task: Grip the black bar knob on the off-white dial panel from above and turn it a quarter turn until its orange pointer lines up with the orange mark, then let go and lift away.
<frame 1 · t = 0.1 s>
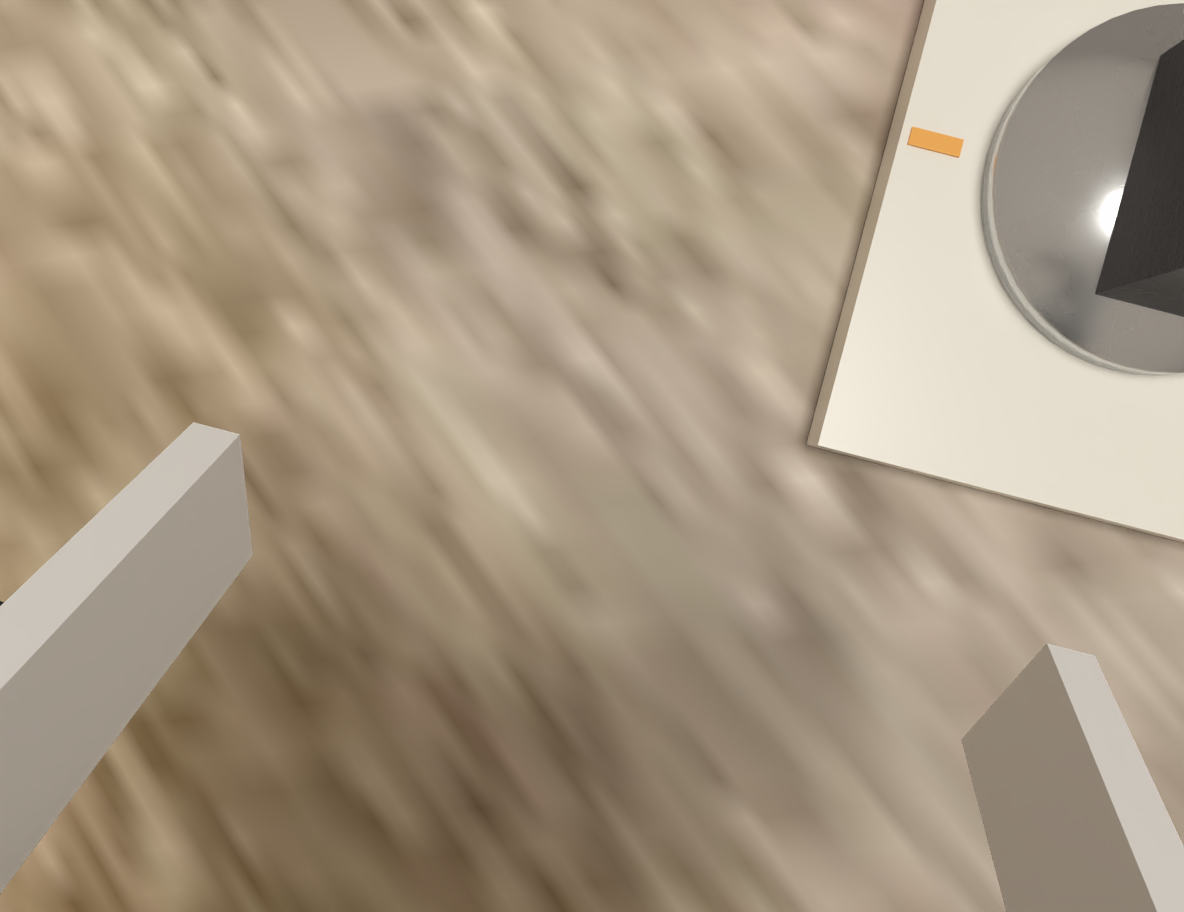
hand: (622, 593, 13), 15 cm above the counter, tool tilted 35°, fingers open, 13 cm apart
dial panel: (1126, 212, 27), on the counter
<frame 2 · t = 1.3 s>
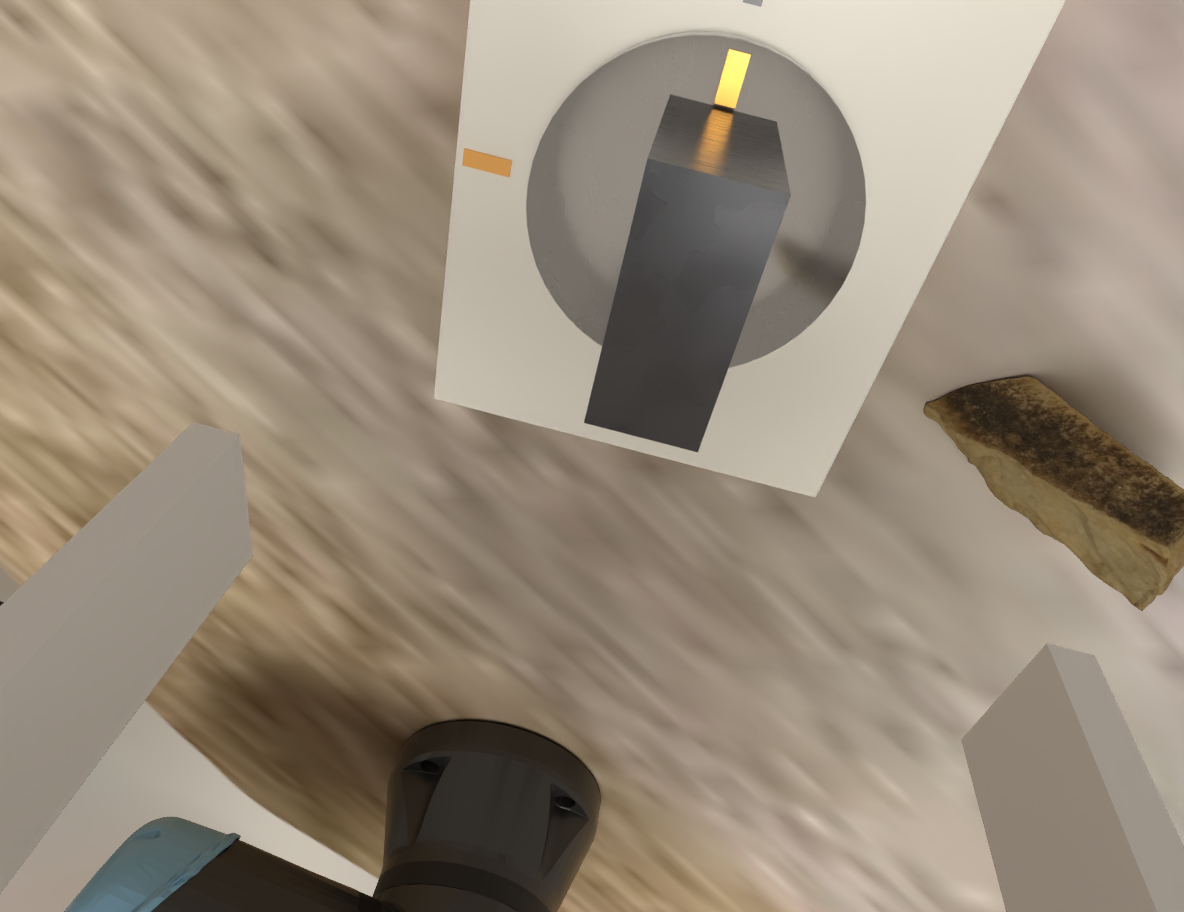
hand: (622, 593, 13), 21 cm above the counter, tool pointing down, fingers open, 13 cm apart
dial: (684, 261, 24), point 6 cm above the counter, hinge at 0.0°
dial panel: (693, 202, 29), on the counter
rock: (1042, 455, 34), on the counter
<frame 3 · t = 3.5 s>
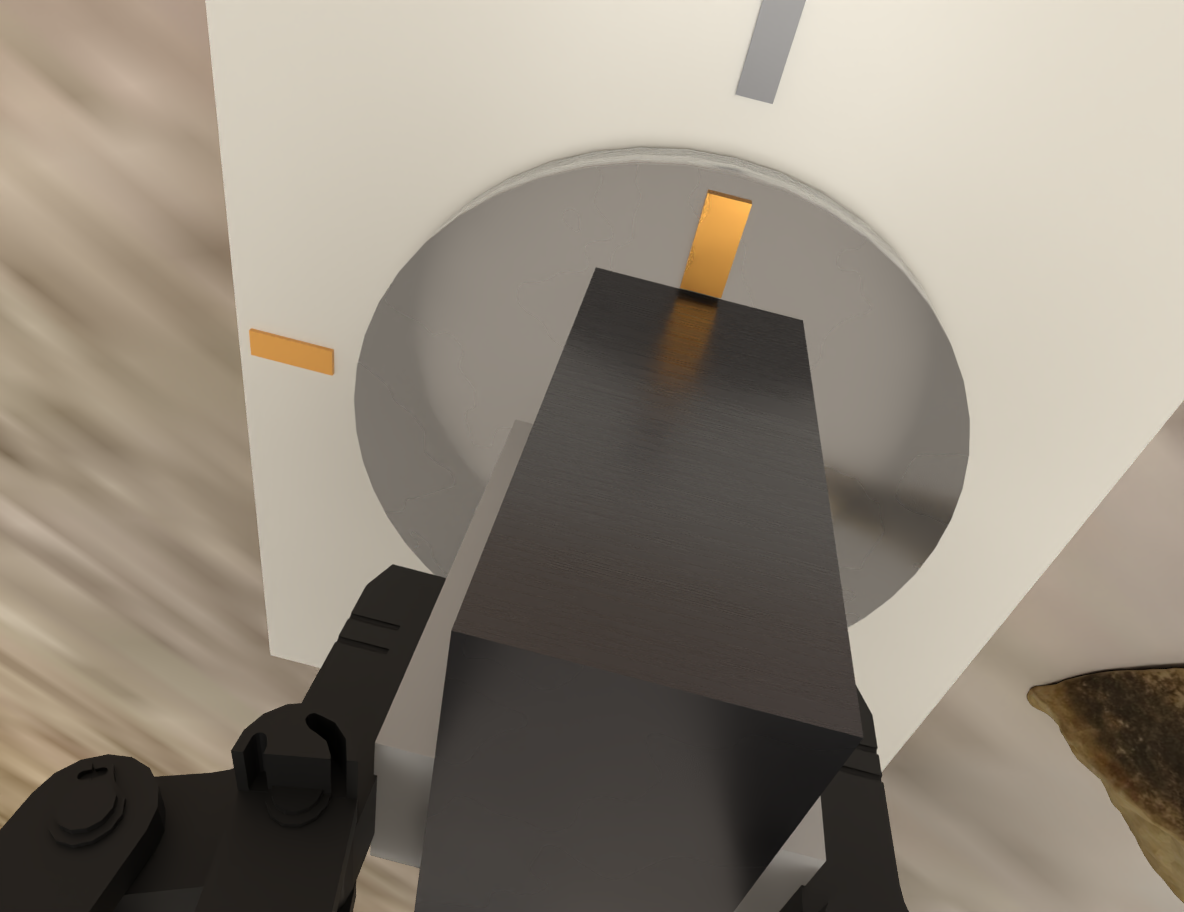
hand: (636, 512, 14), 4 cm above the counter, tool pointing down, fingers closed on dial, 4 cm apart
dial: (621, 602, 12), point 6 cm above the counter, hinge at 0.0°, touching gripper
dial panel: (655, 405, 17), on the counter
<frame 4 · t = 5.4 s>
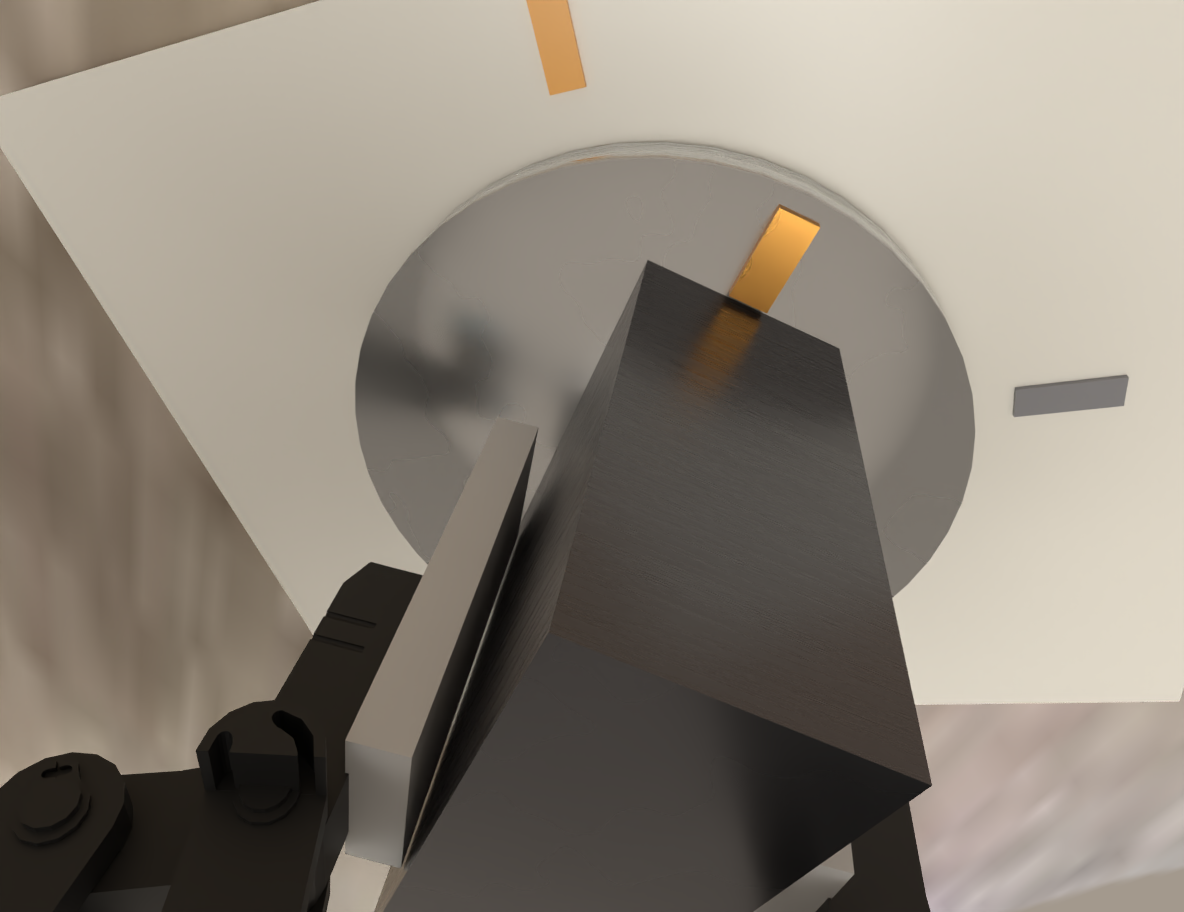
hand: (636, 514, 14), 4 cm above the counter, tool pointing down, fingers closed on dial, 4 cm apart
dial: (623, 600, 12), point 6 cm above the counter, hinge at 54.0°, touching gripper
dial panel: (657, 402, 17), on the counter
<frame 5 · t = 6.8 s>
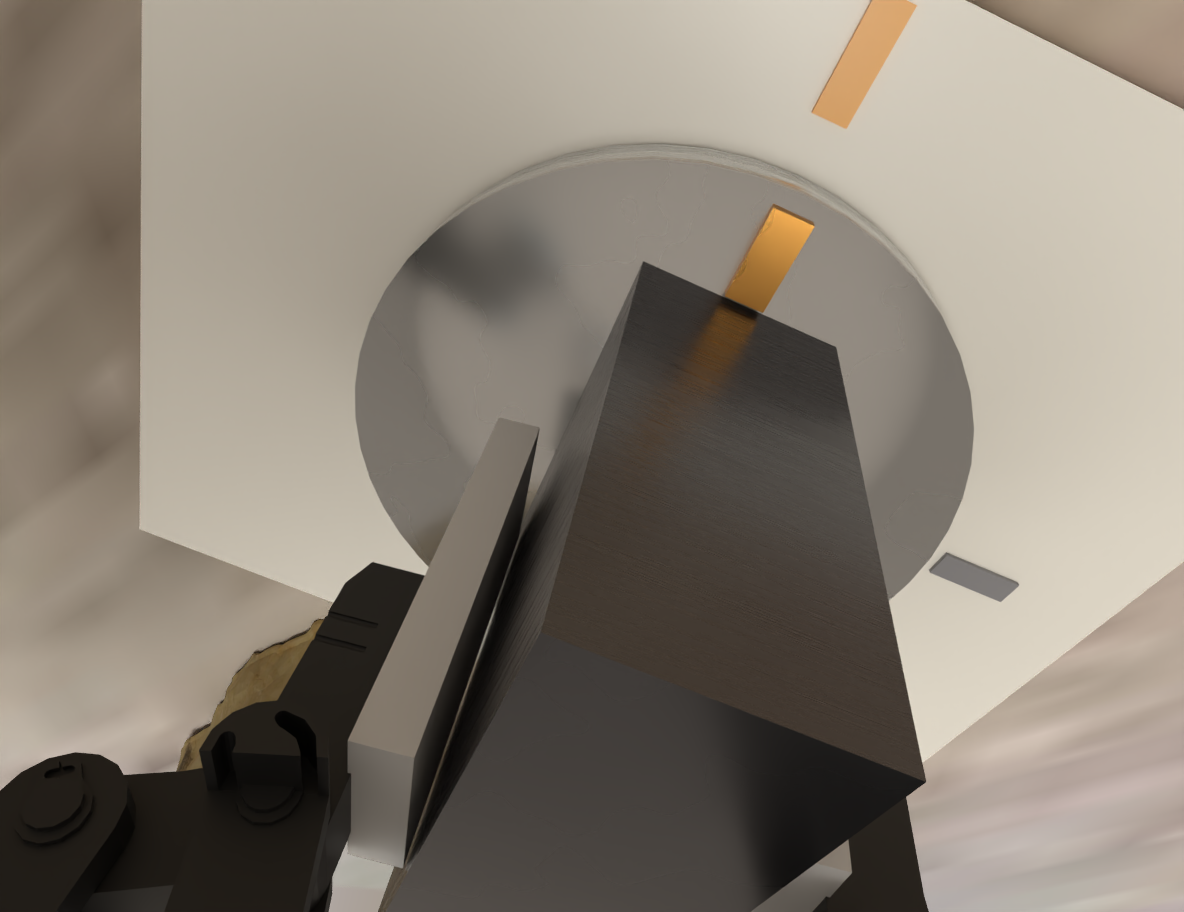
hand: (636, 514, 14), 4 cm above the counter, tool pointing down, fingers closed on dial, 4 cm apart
dial: (623, 601, 12), point 6 cm above the counter, hinge at 89.9°, touching gripper
dial panel: (656, 403, 17), on the counter
rock: (278, 700, 28), on the counter
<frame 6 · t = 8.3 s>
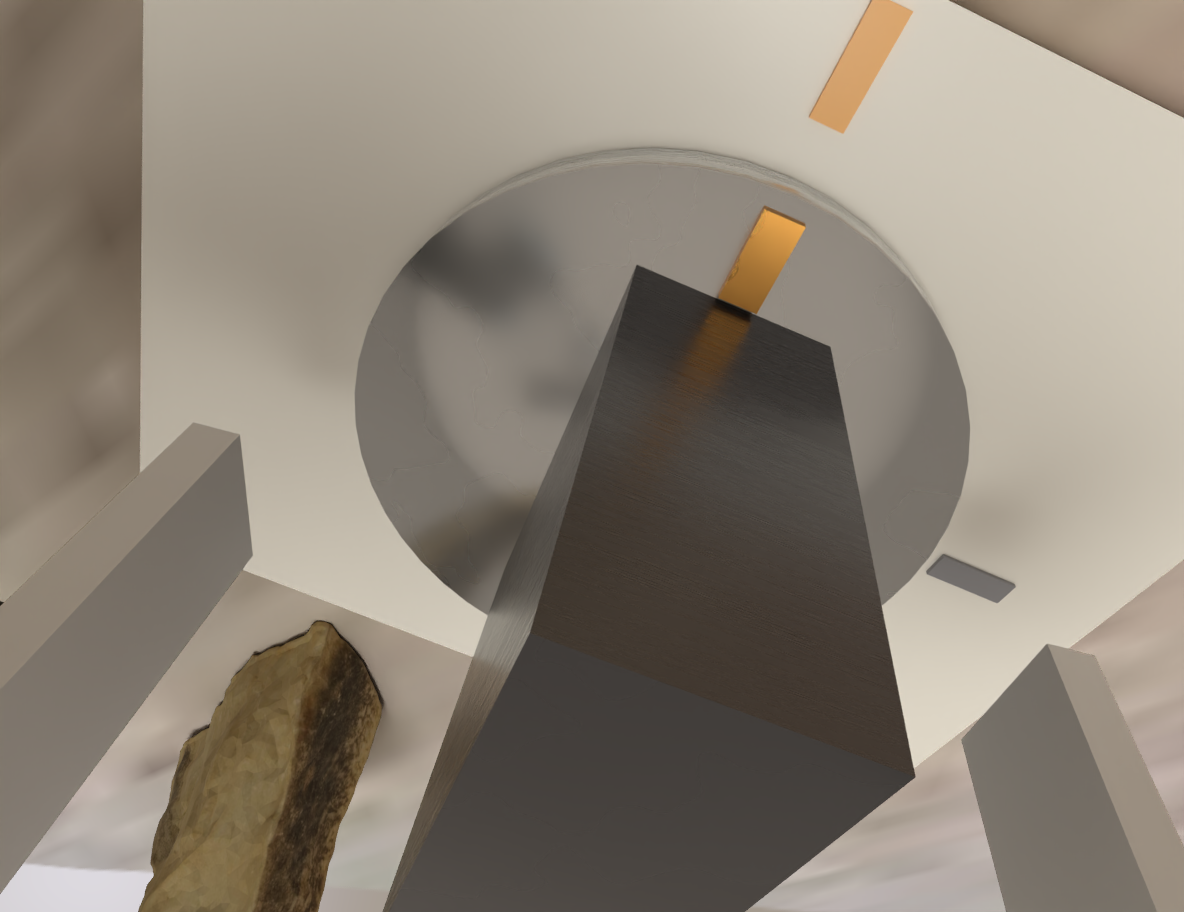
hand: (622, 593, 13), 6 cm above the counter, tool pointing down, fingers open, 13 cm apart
dial: (621, 603, 12), point 6 cm above the counter, hinge at 90.9°
dial panel: (655, 405, 17), on the counter
rock: (277, 702, 28), on the counter
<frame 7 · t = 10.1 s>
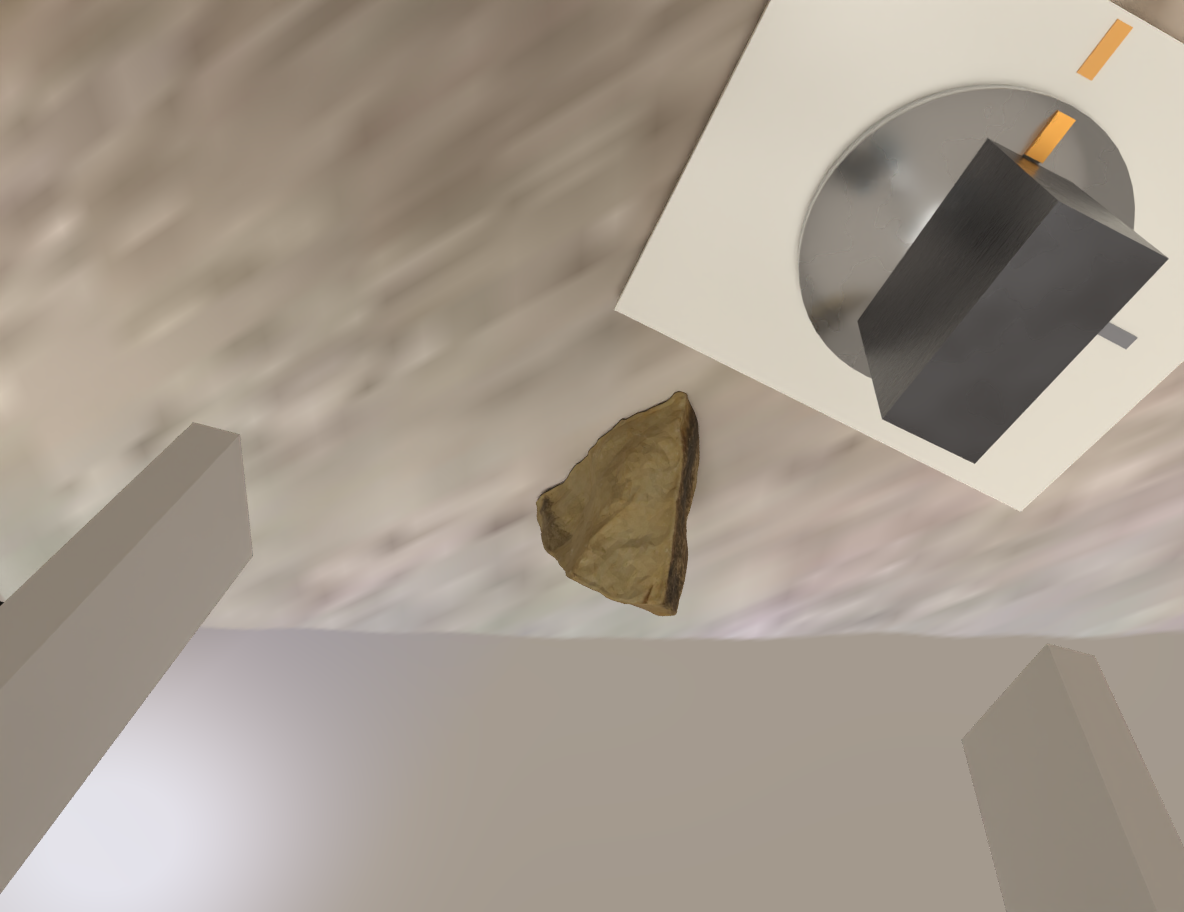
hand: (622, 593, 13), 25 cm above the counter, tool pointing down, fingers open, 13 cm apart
dial: (978, 290, 27), point 6 cm above the counter, hinge at 90.9°
dial panel: (944, 235, 32), on the counter
rock: (616, 463, 42), on the counter
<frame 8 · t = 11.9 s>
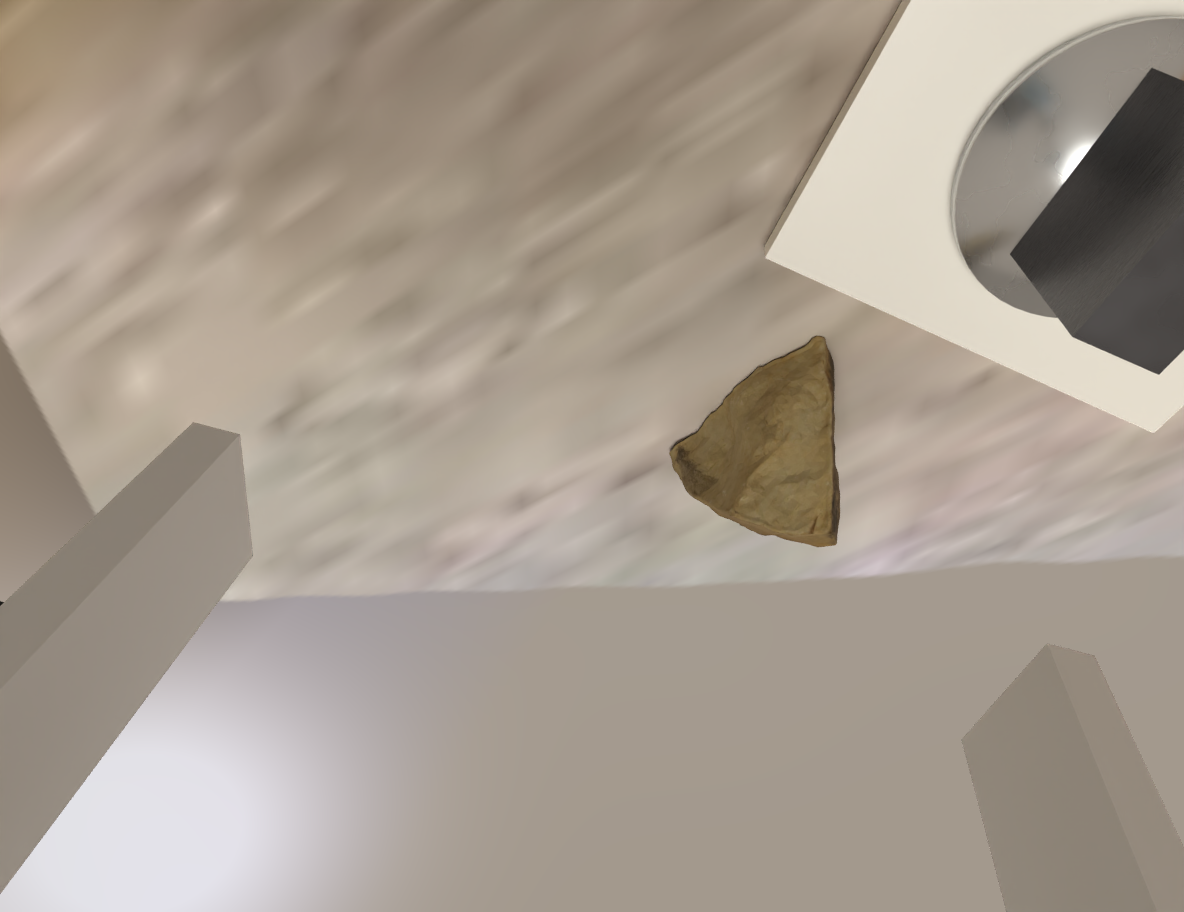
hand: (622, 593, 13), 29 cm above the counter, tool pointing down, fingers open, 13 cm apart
dial: (1149, 213, 29), point 6 cm above the counter, hinge at 90.9°
dial panel: (1090, 167, 33), on the counter
rock: (748, 410, 44), on the counter
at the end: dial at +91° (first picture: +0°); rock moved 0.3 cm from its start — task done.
